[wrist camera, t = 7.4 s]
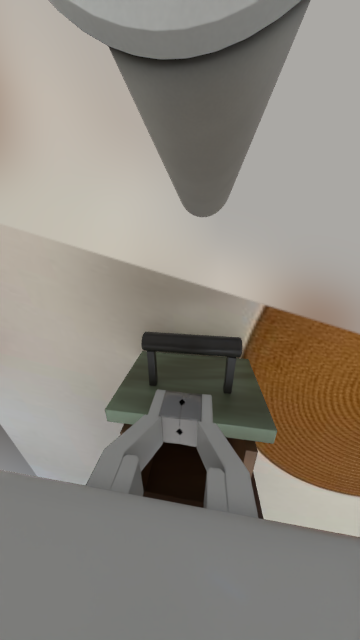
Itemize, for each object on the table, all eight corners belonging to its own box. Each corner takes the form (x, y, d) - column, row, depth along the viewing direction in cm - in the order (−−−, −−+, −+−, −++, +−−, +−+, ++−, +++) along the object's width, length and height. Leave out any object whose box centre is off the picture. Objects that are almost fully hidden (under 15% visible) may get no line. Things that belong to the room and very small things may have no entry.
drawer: (138, 310, 17) (91, 351, 10) (255, 316, 16) (296, 367, 9) (149, 433, 24) (126, 510, 17) (233, 445, 23) (246, 535, 15)
